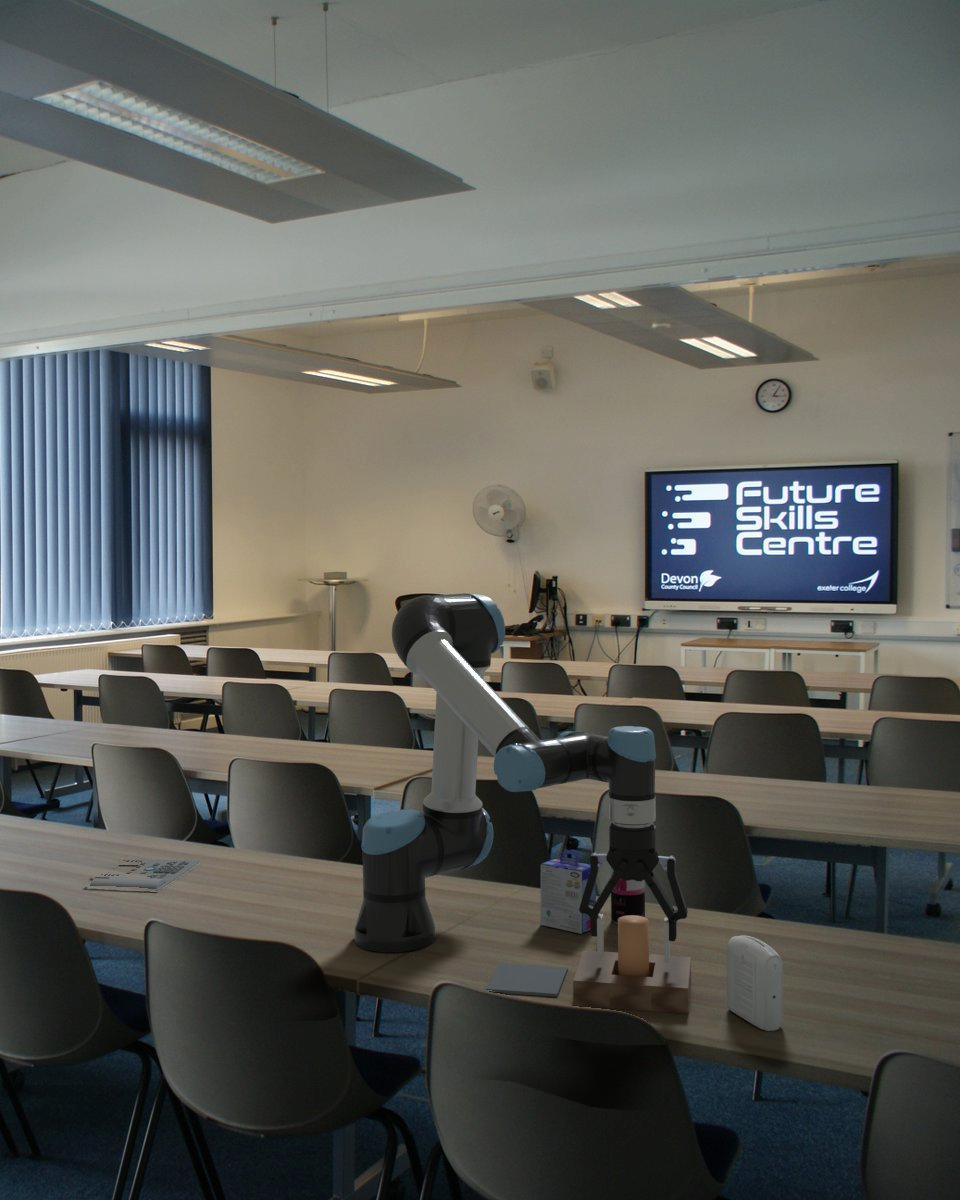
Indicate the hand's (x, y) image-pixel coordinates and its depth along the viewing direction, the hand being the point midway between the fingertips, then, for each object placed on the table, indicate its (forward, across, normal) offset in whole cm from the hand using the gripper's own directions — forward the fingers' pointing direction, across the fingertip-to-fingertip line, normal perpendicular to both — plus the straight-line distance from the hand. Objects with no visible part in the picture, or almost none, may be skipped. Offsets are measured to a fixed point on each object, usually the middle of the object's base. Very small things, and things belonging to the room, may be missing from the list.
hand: (633, 957), depth 184 cm
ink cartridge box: (+6, -15, +31) cm, 35 cm away
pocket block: (+6, 0, 0) cm, 6 cm away
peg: (+6, 0, 0) cm, 6 cm away
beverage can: (+6, -4, +36) cm, 37 cm away
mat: (+6, -18, +2) cm, 19 cm away
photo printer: (+6, +19, -7) cm, 21 cm away
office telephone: (+7, -116, +49) cm, 126 cm away
